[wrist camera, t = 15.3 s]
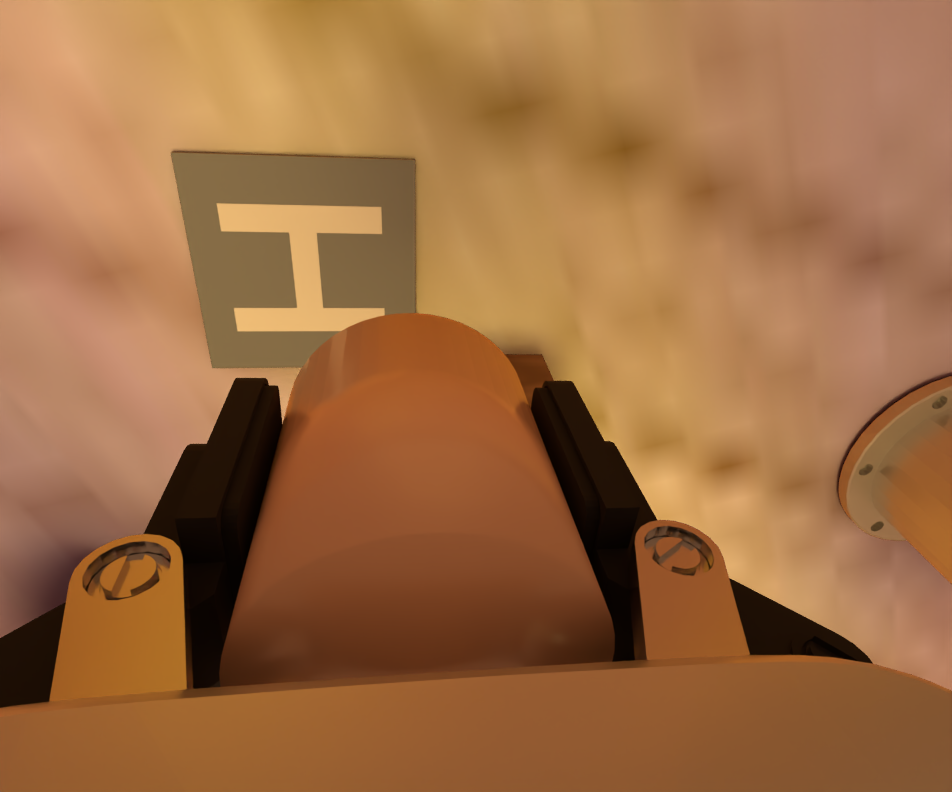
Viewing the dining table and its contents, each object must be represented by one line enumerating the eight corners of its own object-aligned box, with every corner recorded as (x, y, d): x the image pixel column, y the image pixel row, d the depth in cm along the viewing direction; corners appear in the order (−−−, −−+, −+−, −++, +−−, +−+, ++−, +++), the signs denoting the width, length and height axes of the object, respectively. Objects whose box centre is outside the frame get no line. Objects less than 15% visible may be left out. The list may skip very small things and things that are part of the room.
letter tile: (414, 159, 26) (415, 160, 26) (415, 363, 31) (415, 366, 31) (173, 151, 25) (170, 152, 25) (213, 365, 30) (212, 368, 30)
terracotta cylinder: (540, 316, 12) (654, 526, 7) (511, 509, 15) (580, 768, 9) (278, 309, 11) (189, 537, 6) (296, 514, 14) (243, 797, 9)
